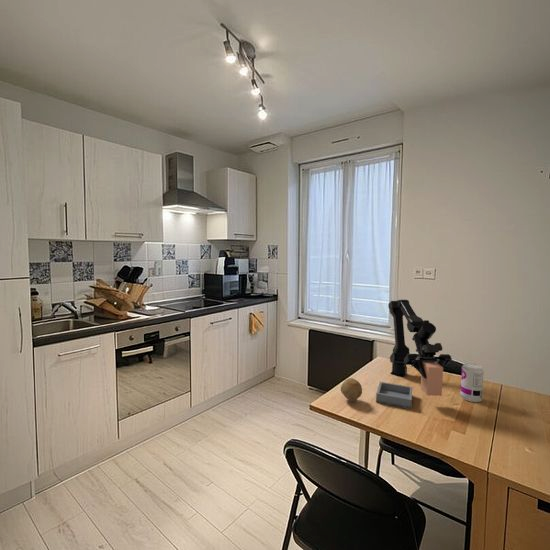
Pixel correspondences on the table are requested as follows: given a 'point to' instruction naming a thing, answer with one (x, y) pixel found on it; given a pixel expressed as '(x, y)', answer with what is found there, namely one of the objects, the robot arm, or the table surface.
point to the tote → (394, 395)
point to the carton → (432, 379)
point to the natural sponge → (351, 389)
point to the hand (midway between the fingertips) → (433, 378)
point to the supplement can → (472, 382)
